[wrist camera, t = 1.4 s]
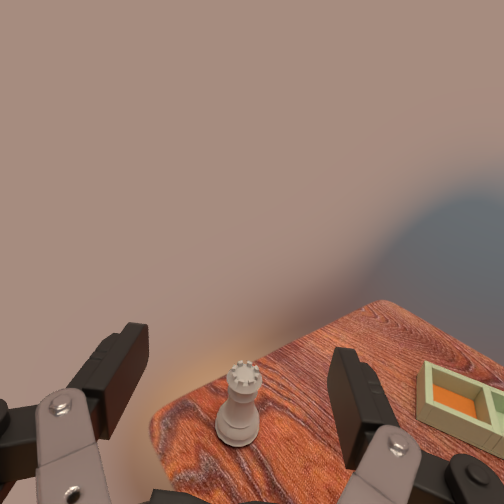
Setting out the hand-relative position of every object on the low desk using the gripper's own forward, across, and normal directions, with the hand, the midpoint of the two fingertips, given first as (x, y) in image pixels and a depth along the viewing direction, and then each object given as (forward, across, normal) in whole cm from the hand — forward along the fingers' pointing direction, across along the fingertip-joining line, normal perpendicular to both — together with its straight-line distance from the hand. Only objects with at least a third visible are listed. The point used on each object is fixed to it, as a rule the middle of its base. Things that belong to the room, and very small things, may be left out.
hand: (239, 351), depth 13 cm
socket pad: (+16, -28, +20) cm, 38 cm away
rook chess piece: (+12, 0, +20) cm, 23 cm away
